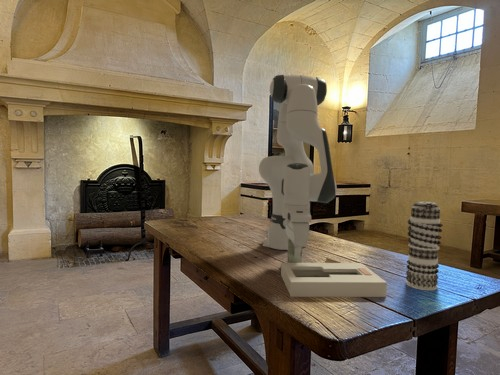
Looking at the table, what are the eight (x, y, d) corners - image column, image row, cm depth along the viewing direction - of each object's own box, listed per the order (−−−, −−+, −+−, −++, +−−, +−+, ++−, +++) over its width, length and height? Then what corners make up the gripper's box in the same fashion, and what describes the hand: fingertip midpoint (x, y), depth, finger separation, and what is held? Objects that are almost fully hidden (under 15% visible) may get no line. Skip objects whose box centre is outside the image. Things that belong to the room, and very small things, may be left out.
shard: (326, 261, 125) (326, 256, 125) (347, 264, 123) (347, 259, 123) (323, 270, 115) (323, 264, 115) (346, 272, 113) (346, 267, 113)
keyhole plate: (280, 274, 107) (281, 261, 107) (360, 275, 109) (361, 262, 108) (290, 296, 89) (291, 281, 89) (386, 296, 91) (386, 281, 91)
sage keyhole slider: (280, 267, 115) (281, 237, 115) (303, 267, 116) (304, 237, 115) (284, 275, 107) (284, 242, 107) (308, 275, 108) (309, 243, 107)
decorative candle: (424, 292, 94) (429, 204, 93) (397, 282, 103) (401, 200, 101) (446, 288, 98) (451, 203, 97) (418, 278, 107) (423, 200, 105)
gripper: (281, 208, 121) (280, 246, 121) (291, 217, 100) (290, 263, 101) (299, 208, 121) (298, 246, 122) (312, 217, 101) (311, 263, 101)
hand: (294, 254), depth 111 cm, fingers open, 6 cm apart
